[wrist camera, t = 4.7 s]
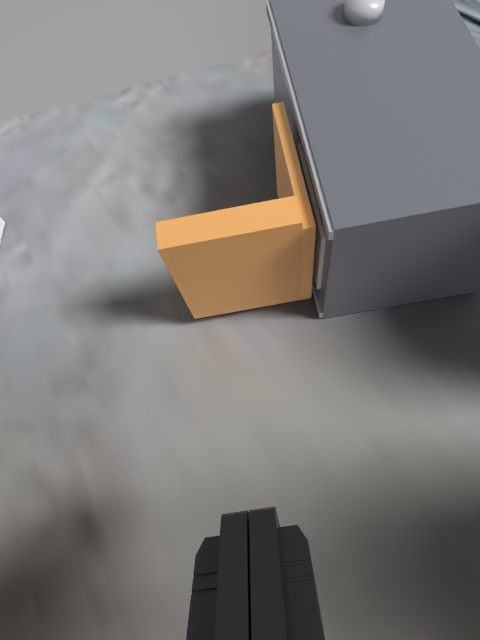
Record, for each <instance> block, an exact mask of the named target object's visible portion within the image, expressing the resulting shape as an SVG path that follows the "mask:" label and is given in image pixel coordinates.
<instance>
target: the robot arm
mask: <svg viewBox="0 0 480 640" xmlns="http://www.w3.org/2000/svg"><path fill="white" fill-rule="evenodd" d="M186 640H325V637H324V631H323V625H322V620H321V614H320V608H319V602H318V596H317V590H316V584H315V579H314V573H313V568H312V562H311V556H310V551H309V545H308V540H307V539H306V537H305V536H304V534H303V533H302V531H301V530H300V528H299V527H298V526H297V525H293V526H286V527H280V526H279V521H278V516H277V511H276V508H275V507H270V508H263V509H256V510H250V511H249V512H248V511H241V512H234V513H227V514H222V516H221V528H220V536H214V537H207V538H205V539H204V541H203V543H202V545H201V547H200V548H199V550H198V552H197V554H196V558H195V567H194V579H193V585H192V595H191V602H190V611H189V620H188V629H187V637H186Z"/></svg>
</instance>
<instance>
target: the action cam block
mask: <svg viewBox="0 0 480 640" xmlns="http://www.w3.org/2000/svg"><path fill="white" fill-rule="evenodd" d="M266 8H267V15H268V19H269V23H270V26H271V37H272V56H273V75H274V94H275V103H278V102H284V105H285V109H286V113H287V117H288V121H289V125H290V129H291V132H292V136H293V140H294V144H295V148H296V152H297V155H298V159H299V163H300V167H301V171H302V175H303V179H304V182H305V186H306V190H307V194H308V198H309V202H310V205H311V209H312V213H313V217H314V221H315V225H316V235H315V250H314V264H313V279H312V290H313V294H314V298H315V302H316V307H317V311H318V315H319V318H322V319H324V318H330V317H336V316H341V315H347V314H353V313H358V312H364V311H370V310H376V309H381V308H387V307H393V306H398V305H404V304H410V303H415V302H421V301H427V300H433V299H438V298H444V297H450V296H455V295H461V294H467V293H473V292H475V291H476V290H477V289H478V287H479V286H480V49H479V47H478V45H477V44H476V42H475V40H474V38H473V37H472V35H471V33H470V31H469V30H468V28H467V26H466V24H465V23H464V21H463V19H462V18H461V16H460V14H459V12H458V11H457V9H456V7H455V5H454V4H453V2H452V0H269V1H266Z"/></svg>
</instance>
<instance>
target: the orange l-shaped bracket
mask: <svg viewBox="0 0 480 640" xmlns="http://www.w3.org/2000/svg"><path fill="white" fill-rule="evenodd" d="M272 112H273V129H274V146H275V162H276V179H277V194H278V199H274V200H269V201H264V202H259V203H253V204H248V205H243V206H238V207H232V208H227V209H222V210H217V211H211V212H206V213H201V214H196V215H190V216H185V217H180V218H175V219H169V220H164V221H159V222H156V233H157V247H158V251H159V253H160V255H161V257H162V259H163V261H164V263H165V264H166V266H167V268H168V270H169V272H170V274H171V276H172V278H173V279H174V281H175V283H176V285H177V287H178V289H179V291H180V293H181V295H182V296H183V298H184V300H185V302H186V304H187V306H188V308H189V310H190V311H191V313H192V315H193V317H194V319H197V318H202V317H208V316H214V315H219V314H225V313H231V312H236V311H242V310H247V309H253V308H259V307H264V306H270V305H275V304H281V303H287V302H292V301H298V300H303V299H309V298H311V293H312V279H313V264H314V250H315V235H316V225H315V221H314V217H313V213H312V209H311V205H310V202H309V198H308V194H307V190H306V186H305V182H304V179H303V175H302V171H301V167H300V163H299V159H298V155H297V152H296V148H295V144H294V140H293V136H292V132H291V129H290V125H289V121H288V117H287V113H286V109H285V105H284V102H278V103H273V104H272Z"/></svg>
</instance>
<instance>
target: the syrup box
mask: <svg viewBox="0 0 480 640" xmlns="http://www.w3.org/2000/svg"><path fill="white" fill-rule="evenodd" d="M4 227H5V221H4V220H3V219H2V218H1V217H0V244H1V239H2V235H3V231H4Z"/></svg>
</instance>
